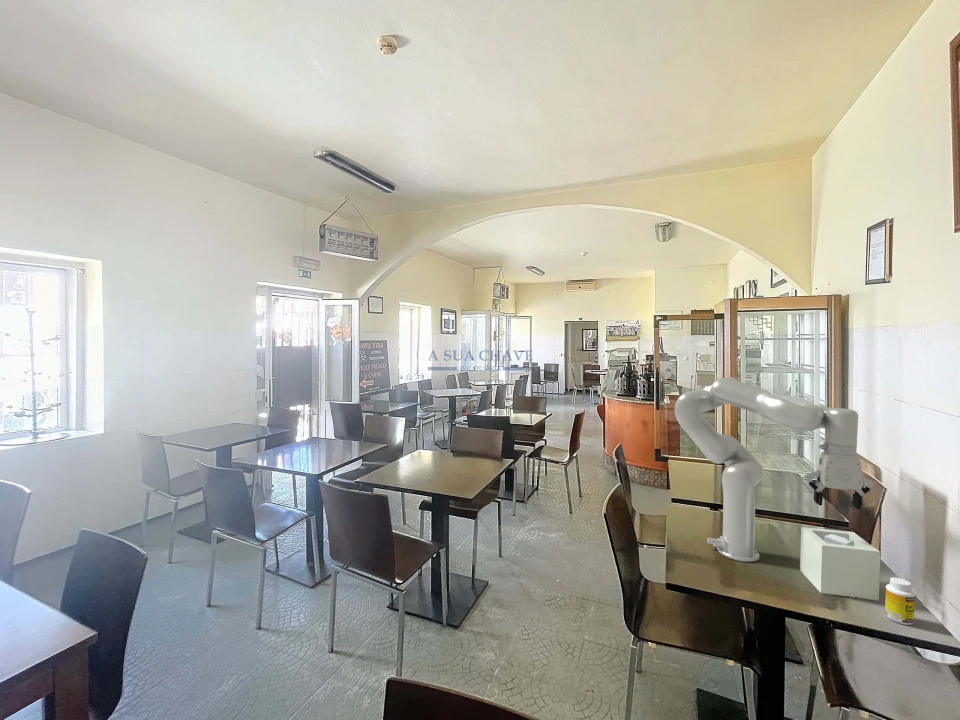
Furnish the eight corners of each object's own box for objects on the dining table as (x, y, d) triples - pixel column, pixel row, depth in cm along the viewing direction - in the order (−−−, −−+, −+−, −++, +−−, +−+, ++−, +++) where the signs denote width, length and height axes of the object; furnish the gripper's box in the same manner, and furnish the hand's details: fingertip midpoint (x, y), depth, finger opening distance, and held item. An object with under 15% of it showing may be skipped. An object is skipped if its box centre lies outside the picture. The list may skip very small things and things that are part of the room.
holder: (820, 592, 128) (822, 545, 128) (800, 570, 142) (801, 526, 141) (878, 600, 124) (880, 551, 124) (851, 576, 138) (853, 532, 138)
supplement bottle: (907, 628, 112) (908, 588, 112) (880, 616, 117) (881, 578, 117) (918, 623, 114) (919, 584, 114) (891, 611, 119) (893, 574, 119)
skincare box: (821, 574, 135) (822, 535, 135) (830, 571, 137) (831, 533, 136) (845, 584, 129) (846, 543, 129) (853, 581, 131) (854, 540, 131)
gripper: (812, 450, 131) (809, 506, 132) (882, 455, 126) (879, 514, 127) (801, 444, 138) (798, 498, 139) (867, 449, 134) (864, 505, 134)
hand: (837, 505), depth 133 cm, fingers open, 9 cm apart
